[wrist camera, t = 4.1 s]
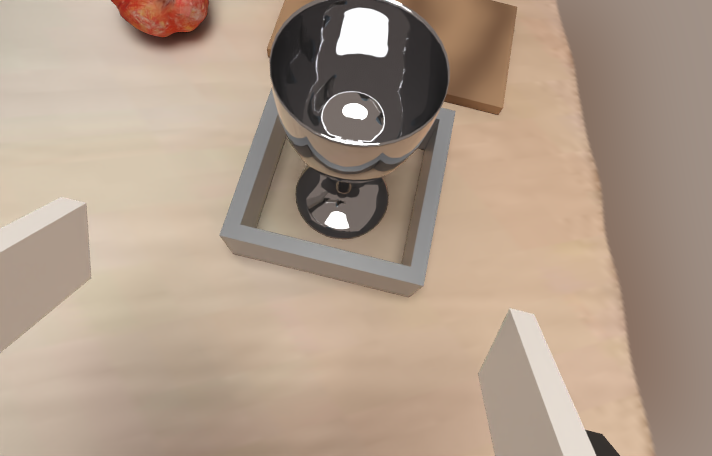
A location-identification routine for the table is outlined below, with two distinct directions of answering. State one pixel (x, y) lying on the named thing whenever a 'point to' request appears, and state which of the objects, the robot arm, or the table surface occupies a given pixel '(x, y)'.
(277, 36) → the wine glass
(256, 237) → the square frame
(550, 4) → the table surface
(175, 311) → the table surface
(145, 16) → the pomegranate
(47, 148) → the table surface
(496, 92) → the board
